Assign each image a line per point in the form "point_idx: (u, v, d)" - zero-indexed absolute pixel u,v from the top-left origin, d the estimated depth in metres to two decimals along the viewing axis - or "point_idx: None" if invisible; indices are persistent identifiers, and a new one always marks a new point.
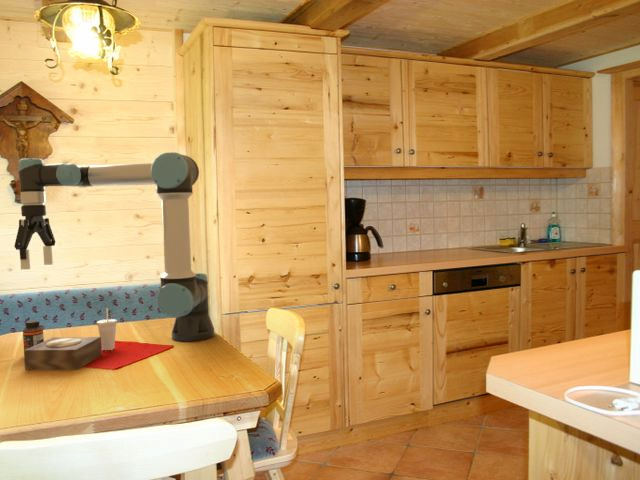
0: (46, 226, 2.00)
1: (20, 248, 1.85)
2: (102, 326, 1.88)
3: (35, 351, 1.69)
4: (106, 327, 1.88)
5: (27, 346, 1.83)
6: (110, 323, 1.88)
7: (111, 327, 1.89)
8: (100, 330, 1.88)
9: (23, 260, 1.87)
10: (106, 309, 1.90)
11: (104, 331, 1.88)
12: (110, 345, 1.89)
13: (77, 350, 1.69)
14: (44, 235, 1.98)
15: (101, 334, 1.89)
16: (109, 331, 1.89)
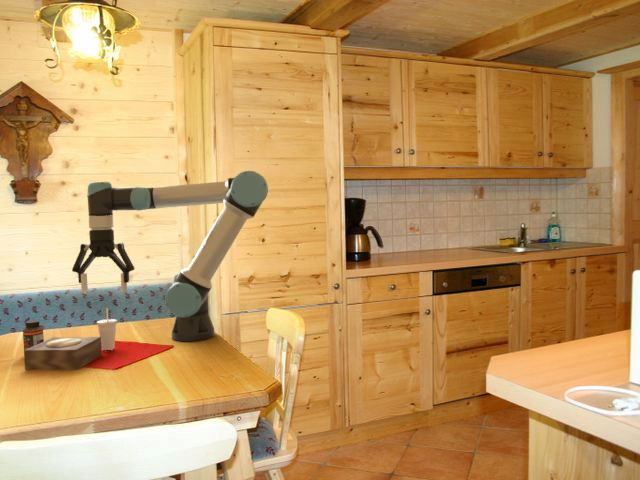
0: None
1: None
2: (102, 326, 1.88)
3: (35, 351, 1.69)
4: (106, 327, 1.88)
5: (27, 346, 1.83)
6: (110, 323, 1.88)
7: (111, 327, 1.89)
8: (100, 330, 1.88)
9: None
10: (106, 309, 1.90)
11: (104, 331, 1.88)
12: (110, 345, 1.89)
13: (77, 350, 1.69)
14: None
15: (101, 334, 1.89)
16: (109, 331, 1.89)
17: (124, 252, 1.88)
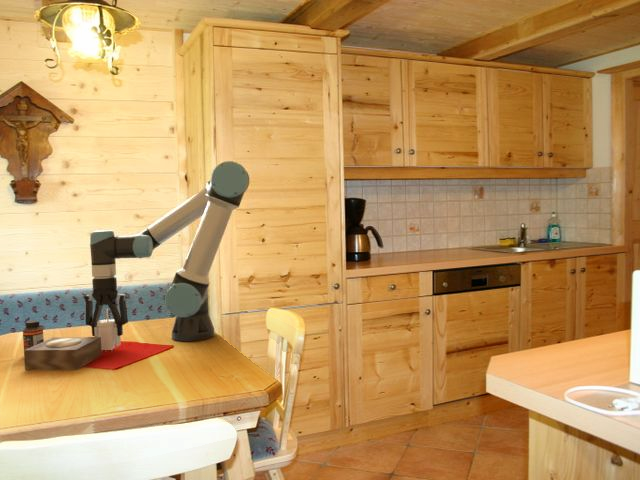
0: None
1: None
2: (102, 326, 1.88)
3: (35, 351, 1.69)
4: (106, 327, 1.88)
5: (27, 346, 1.83)
6: (110, 323, 1.88)
7: (111, 327, 1.89)
8: (100, 330, 1.88)
9: None
10: (106, 309, 1.90)
11: (104, 331, 1.88)
12: (110, 345, 1.89)
13: (77, 350, 1.69)
14: None
15: (101, 334, 1.89)
16: (109, 331, 1.89)
17: (124, 304, 1.90)
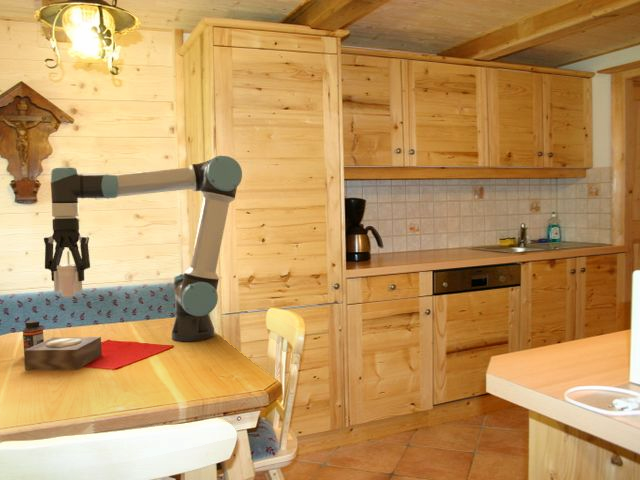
0: None
1: None
2: (62, 270, 1.75)
3: (35, 351, 1.69)
4: (66, 271, 1.75)
5: (27, 346, 1.83)
6: (70, 267, 1.75)
7: (72, 271, 1.76)
8: (60, 274, 1.76)
9: None
10: (67, 252, 1.77)
11: (64, 275, 1.75)
12: (70, 291, 1.77)
13: (77, 350, 1.69)
14: None
15: (61, 278, 1.76)
16: (69, 275, 1.76)
17: (86, 247, 1.77)
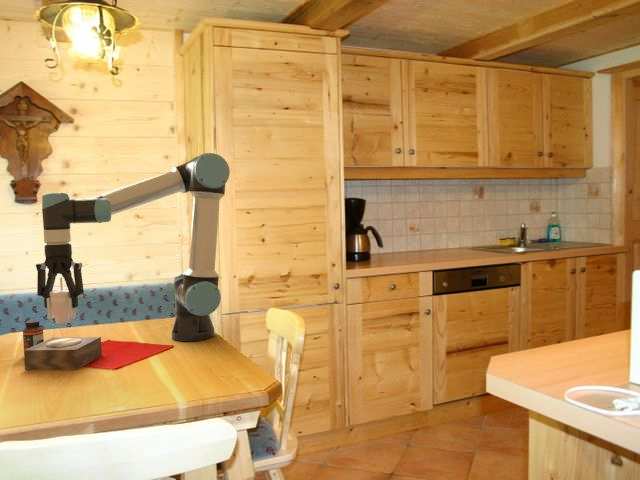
0: None
1: None
2: (55, 296, 1.72)
3: (35, 351, 1.69)
4: (59, 298, 1.73)
5: (27, 346, 1.83)
6: (64, 293, 1.73)
7: (65, 298, 1.74)
8: (53, 301, 1.73)
9: None
10: (60, 278, 1.74)
11: (57, 302, 1.73)
12: (63, 318, 1.74)
13: (77, 350, 1.69)
14: None
15: (54, 305, 1.73)
16: (63, 302, 1.73)
17: (79, 273, 1.74)
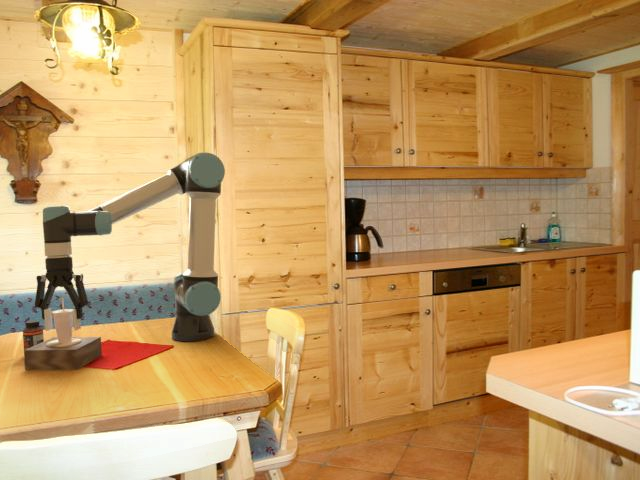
0: None
1: None
2: (57, 316, 1.73)
3: (35, 351, 1.69)
4: (61, 317, 1.73)
5: (27, 346, 1.83)
6: (66, 313, 1.73)
7: (67, 317, 1.74)
8: (55, 321, 1.74)
9: None
10: (62, 298, 1.75)
11: (59, 322, 1.73)
12: (66, 337, 1.75)
13: (77, 350, 1.69)
14: None
15: (56, 325, 1.74)
16: (65, 322, 1.74)
17: (81, 285, 1.75)
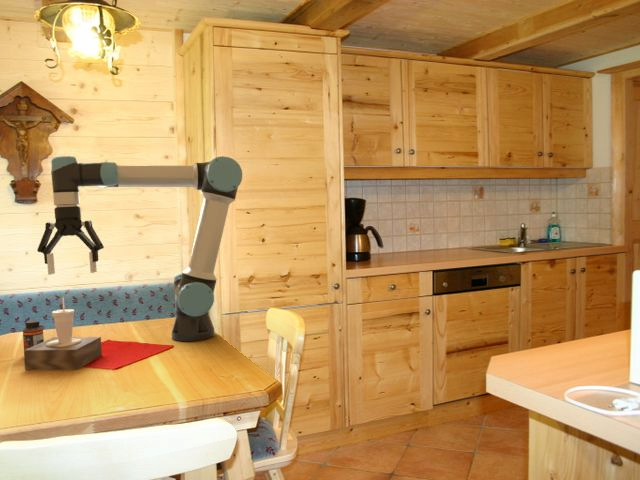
0: None
1: None
2: (57, 316, 1.73)
3: (35, 351, 1.69)
4: (62, 317, 1.73)
5: (27, 346, 1.83)
6: (66, 313, 1.73)
7: (67, 317, 1.74)
8: (55, 321, 1.74)
9: None
10: (62, 298, 1.75)
11: (60, 322, 1.73)
12: (66, 337, 1.75)
13: (77, 350, 1.69)
14: None
15: (57, 325, 1.74)
16: (65, 322, 1.74)
17: (92, 230, 1.79)
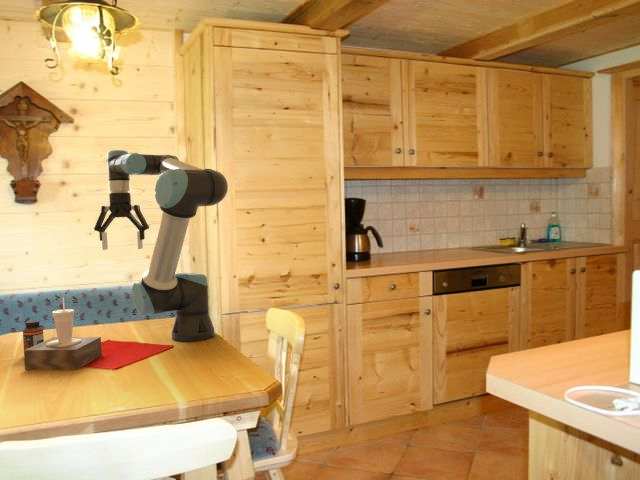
0: None
1: None
2: (57, 316, 1.73)
3: (35, 351, 1.69)
4: (62, 317, 1.73)
5: (27, 346, 1.83)
6: (66, 313, 1.74)
7: (67, 317, 1.74)
8: (55, 321, 1.74)
9: None
10: (62, 298, 1.75)
11: (60, 322, 1.73)
12: (66, 337, 1.75)
13: (77, 350, 1.69)
14: None
15: (57, 325, 1.74)
16: (65, 322, 1.74)
17: (140, 213, 2.13)
